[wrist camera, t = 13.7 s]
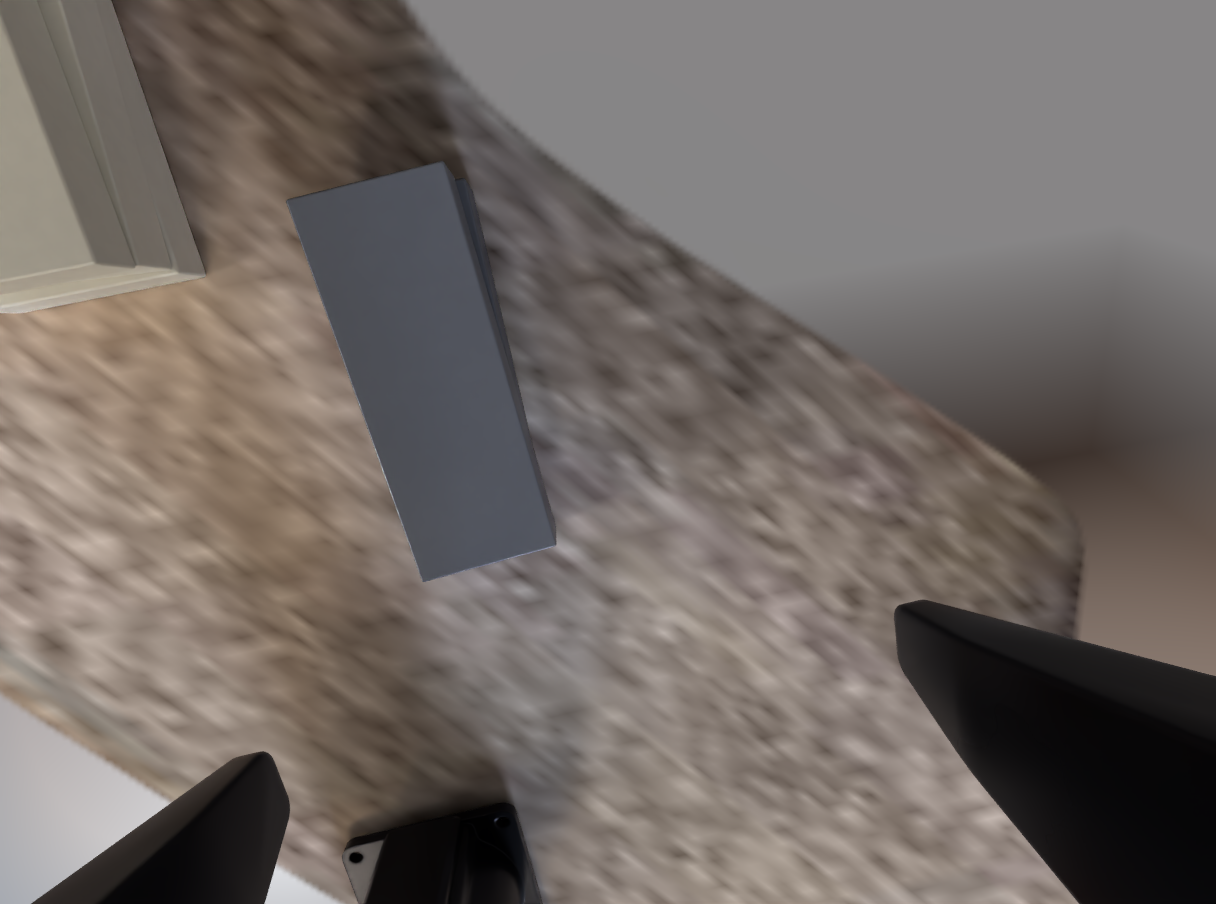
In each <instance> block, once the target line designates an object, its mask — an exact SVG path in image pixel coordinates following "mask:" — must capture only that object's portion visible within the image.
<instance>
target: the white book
mask: <svg viewBox="0 0 1216 904" xmlns="http://www.w3.org/2000/svg"><path fill="white" fill-rule="evenodd" d="M134 268H135V263H134V260H133V258H132V255H131V252H130V250H129V247H128V244H127V242H126V239H125V236H124V234H123V231H122V228H121V226H120V223H119V220H118V218H117V215H116V212H115V209H114V207H113V204H112V201H111V199H110V196H109V193H108V191H107V188H106V185H105V183H104V180H103V177H102V175H101V172H100V169H99V166H98V164H97V161H96V158H95V156H94V153H93V150H92V148H91V145H90V142H89V140H88V137H87V134H86V132H85V129H84V126H83V123H82V121H81V118H80V115H79V113H78V110H77V107H76V105H75V102H74V99H73V97H72V94H71V91H70V89H69V86H68V83H67V81H66V78H65V75H64V72H63V70H62V67H61V64H60V62H59V59H58V56H57V54H56V51H55V48H54V46H53V43H52V40H51V38H50V35H49V32H48V29H47V27H46V24H45V21H44V19H43V16H42V13H41V11H40V8H39V5H38V3H37V0H0V295H4V294H9V293H14V292H19V291H24V290H29V289H35V288H40V287H45V286H50V285H55V284H60V283H65V282H70V281H76V280H81V279H86V278H91V277H96V276H101V275H106V274H111V273H117V272H122V271H127V270H132V269H134Z"/></svg>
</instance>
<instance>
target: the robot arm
mask: <svg viewBox="0 0 1216 904" xmlns="http://www.w3.org/2000/svg"><path fill="white" fill-rule="evenodd" d="M894 621H895V632H896V643H897V654H898V660H899V663H900V666H901V668H902V670H903V672H904V674H905V676H906V677H907V679H908V680H909V682H910V683H911V684H912V686H913V687H914V689H915V690H916V692H917V693H918V695H919V696H920V698H921V699H922V701H923V702H924V704H925V705H926V707H927V708H928V710H929V711H930V713H931V714H932V716H933V717H934V719H935V720H936V722H937V723H938V725H939V726H940V728H941V729H942V731H943V732H944V734H945V735H946V737H947V738H948V739H949V741H950V742H951V744H952V745H953V747H954V748H955V750H956V751H957V753H958V754H959V756H960V757H961V758H962V760H963V761H964V763H965V764H966V765H967V767H968V768H969V770H970V771H971V772H972V773H973V775H974V776H975V777H976V778H977V780H978V781H979V782H980V784H981V785H982V786H983V787H984V788H985V790H986V791H987V792H988V793H989V795H990V796H991V797H992V798H993V799H994V801H995V802H996V803H997V804H998V805H999V807H1000V808H1001V809H1002V810H1003V812H1004V813H1005V814H1006V815H1007V816H1008V818H1009V819H1010V820H1011V821H1012V823H1013V824H1014V825H1015V826H1016V827H1017V829H1018V830H1019V831H1020V832H1021V833H1022V835H1023V836H1024V837H1025V838H1026V840H1027V841H1028V842H1029V843H1030V844H1031V846H1032V847H1033V848H1034V849H1035V850H1036V852H1037V853H1038V854H1039V855H1040V857H1041V858H1042V859H1043V860H1044V861H1045V863H1046V864H1047V865H1048V866H1049V868H1050V869H1051V870H1052V871H1053V872H1054V874H1055V875H1056V876H1057V877H1058V878H1059V880H1060V881H1061V882H1062V883H1063V885H1064V886H1065V887H1066V888H1067V889H1068V891H1069V892H1070V893H1071V894H1072V895H1073V897H1074V898H1075V899H1076V900H1077V902H1078V903H1079V904H1216V676H1212V675H1209V674H1205V673H1201V672H1197V671H1193V670H1189V669H1186V668H1182V667H1178V666H1174V665H1170V664H1167V663H1162V662H1159V661H1155V660H1152V659H1148V658H1144V657H1140V656H1136V655H1133V654H1129V653H1125V652H1121V651H1117V650H1114V649H1110V648H1106V647H1102V646H1098V645H1095V644H1091V643H1087V642H1083V641H1080V640H1076V639H1072V638H1068V637H1064V636H1061V635H1057V634H1053V633H1049V632H1046V631H1042V630H1038V629H1034V628H1030V627H1027V626H1023V625H1019V624H1015V623H1011V622H1008V621H1004V620H1000V619H996V618H993V617H989V616H985V615H981V614H977V613H974V612H970V611H966V610H962V609H958V608H955V607H951V606H947V605H943V604H940V603H936V602H932V601H928V600H918V601H914V602H910V603H905V604H901V605H899V606H898V607H897V608H896V609H895V613H894ZM289 813H290V804H289V798H288V795H287V793H286V790H285V787H284V785H283V782H282V780H281V777H280V775H279V772H278V770H277V767H276V765H275V762H274V760H273V758H272V756H271V755H270V754H269V753H267V752H264V751H263V752H257V753H252V754H248V755H244V756H239V757H236V758H234V759H232V760H230V761H229V762H228V763H226V764H225V765H223V766H222V767H221V768H219V769H218V770H216V771H215V772H214V773H212V774H211V775H210V776H208V777H207V778H205V779H204V780H203V781H201V782H200V783H198V784H197V785H196V786H194V787H193V788H191V789H190V790H189V791H187V792H186V793H184V794H183V795H182V796H180V797H179V798H178V799H176V800H175V801H173V802H172V803H171V804H169V805H168V806H166V807H165V808H164V809H162V810H161V811H159V812H158V813H157V814H155V815H154V816H152V817H151V818H150V819H148V820H147V821H146V822H144V823H143V824H141V825H140V826H139V827H137V828H136V829H134V830H133V831H132V832H130V833H129V834H127V835H126V836H125V837H123V838H122V839H120V840H119V841H118V842H116V843H115V844H114V845H112V846H111V847H109V848H108V849H107V850H105V851H104V852H102V853H101V854H100V855H98V856H97V857H95V858H94V859H93V860H91V861H90V862H89V863H87V864H86V865H84V866H83V867H82V868H80V869H79V870H77V871H76V872H75V873H73V874H72V875H70V876H69V877H68V878H66V879H65V880H63V881H62V882H61V883H59V884H58V885H56V886H55V887H54V888H52V889H51V890H50V891H48V892H47V893H46V894H44V895H43V896H41V897H40V898H38V899H37V900H36V901H34V902H33V903H32V904H264V903H265V900H266V896H267V893H268V889H269V886H270V882H271V879H272V875H273V872H274V869H275V865H276V862H277V858H278V855H279V851H280V848H281V844H282V841H283V837H284V834H285V830H286V827H287V823H288V819H289ZM500 817H506V818H507V819H499V818H500ZM355 852H359V853H361V854H357V853H355ZM342 860H343V863H344V866H345V869H346V871H347V874H348V876H349V879H350V882H351V884H352V887H353V890H354V892H355V895H356V898H357V900H358V903H359V904H543V903H542V899H541V896H540V892H539V889H538V885H537V882H536V878H535V875H534V871H533V868H532V864H531V861H530V857H529V854H528V850H527V847H526V843H525V840H524V836H523V833H522V829H521V826H520V822H519V818H518V815H517V811H516V809H515V808H514V806H512V805H511V804H508V803H499V804H495V805H490V806H486V807H482V808H478V809H474V810H469V811H465V812H461V813H457V814H453V815H448V816H444V817H440V818H436V819H432V820H427V821H423V822H419V823H415V824H411V825H406V826H402V827H398V828H394V829H390V830H385V831H381V832H377V833H373V834H369V835H364V836H360V837H356V838H354V839H351V840H350V841H349V842H348V843H347V845H346V848H345V850H344V853H343V855H342Z"/></svg>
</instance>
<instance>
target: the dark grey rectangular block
mask: <svg viewBox="0 0 1216 904" xmlns="http://www.w3.org/2000/svg"><path fill="white" fill-rule="evenodd" d="M286 203H287V205H288V208H289V211H290V214H291V217H292V219H293V222H294V225H295V228H296V230H297V233H298V236H299V239H300V242H301V244H302V247H303V250H304V253H305V256H306V258H307V261H308V264H309V267H310V270H311V272H312V275H313V278H314V281H315V283H316V286H317V289H318V292H319V295H320V297H321V300H322V303H323V306H324V309H325V311H326V314H327V317H328V320H329V323H330V325H331V328H332V331H333V334H334V337H335V339H336V342H337V345H338V348H339V350H340V353H341V356H342V359H343V362H344V364H345V367H346V370H347V373H348V376H349V378H350V381H351V384H352V387H353V390H354V392H355V395H356V398H357V401H358V403H359V406H360V409H361V412H362V415H363V417H364V420H365V423H366V426H367V429H368V431H369V434H370V437H371V440H372V443H373V445H374V448H375V451H376V454H377V457H378V459H379V462H380V465H381V468H382V470H383V473H384V476H385V479H386V482H387V484H388V487H389V490H390V493H391V496H392V498H393V501H394V504H395V507H396V510H397V512H398V515H399V518H400V521H401V523H402V526H403V529H404V532H405V535H406V537H407V540H408V543H409V546H410V549H411V551H412V554H413V557H414V560H415V563H416V565H417V568H418V571H419V574H420V576H421V579H422V581H423V582H426V581H429V580H433V579H437V578H440V577H444V576H448V575H451V574H455V573H459V572H462V571H466V570H470V569H473V568H477V567H481V566H484V565H488V564H492V563H495V562H499V561H503V560H506V559H510V558H514V557H517V556H521V555H525V554H528V553H532V552H536V551H539V550H543V549H547V548H550V547H554V546H556V524H555V521H554V518H553V514H552V511H551V507H550V504H549V500H548V497H547V494H546V490H545V487H544V483H543V480H542V476H541V473H540V470H539V466H538V463H537V459H536V456H535V452H534V449H533V446H532V441H531V437H530V433H529V429H528V424H527V420H526V416H525V412H524V407H523V403H522V399H521V394H520V390H519V386H518V382H517V377H516V373H515V369H514V365H513V360H512V356H511V352H510V348H509V343H508V339H507V335H506V331H505V326H504V322H503V318H502V313H501V309H500V305H499V301H498V296H497V292H496V288H495V284H494V279H493V275H492V271H491V267H490V262H489V258H488V254H487V249H486V245H485V241H484V237H483V232H482V228H481V224H480V220H479V215H478V211H477V207H476V203H475V198H474V194H473V191H472V189H471V188H470V186H469V185H468V183H467V181H466V180H465V178H460V179H455V178H454V176H453V175H452V173H451V172H450V170H449V169H448V167H447V166H446V165H445V163H444V162H443V161H439V162H435V163H431V164H427V165H423V166H419V167H415V168H411V169H407V170H403V171H399V172H395V173H391V174H387V175H383V176H379V177H375V178H371V179H367V180H363V181H359V182H355V183H351V184H347V185H343V186H339V187H335V188H331V189H327V190H323V191H319V192H315V193H311V194H307V195H303V196H299V197H295V198H291V199H288V200H286Z"/></svg>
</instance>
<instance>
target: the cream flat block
mask: <svg viewBox="0 0 1216 904" xmlns="http://www.w3.org/2000/svg"><path fill="white" fill-rule="evenodd" d="M37 3H38V5H39V8H40V11H41V13H42V16H43V19H44V21H45V24H46V27H47V29H48V32H49V35H50V38H51V40H52V43H53V46H54V48H55V51H56V54H57V56H58V59H59V62H60V64H61V67H62V70H63V72H64V75H65V78H66V81H67V83H68V86H69V89H70V91H71V94H72V97H73V99H74V102H75V105H76V107H77V110H78V113H79V115H80V118H81V121H82V123H83V126H84V129H85V132H86V134H87V137H88V140H89V142H90V145H91V148H92V150H93V153H94V156H95V158H96V161H97V164H98V166H99V169H100V172H101V175H102V177H103V180H104V183H105V185H106V188H107V191H108V193H109V196H110V199H111V201H112V204H113V207H114V209H115V212H116V215H117V218H118V220H119V223H120V226H121V228H122V231H123V234H124V236H125V239H126V242H127V244H128V247H129V250H130V252H131V255H132V258H133V260H134V263H135V268H134V269H132V270H127V271H122V272H117V273H111V274H106V275H101V276H96V277H91V278H86V279H81V280H76V281H70V282H65V283H60V284H55V285H50V286H45V287H40V288H35V289H29V290H24V291H19V292H14V293H9V294H4V295H0V313H25V312H30V311H35V310H40V309H46V308H51V307H56V306H61V305H66V304H71V303H76V302H81V301H86V300H92V299H97V298H102V297H107V296H112V295H117V294H122V293H127V292H132V291H138V290H143V289H148V288H153V287H158V286H163V285H168V284H173V283H178V282H184V281H189V280H194V279H199V278H204V277H205V276H206V273H205V270H204V267H203V264H202V261H201V258H200V256H199V253H198V250H197V247H196V244H195V241H194V238H193V235H192V232H191V230H190V227H189V224H188V221H187V218H186V215H185V212H184V209H183V206H182V203H181V201H180V198H179V195H178V192H177V189H176V186H175V183H174V180H173V177H172V175H171V172H170V169H169V166H168V163H167V160H166V157H165V154H164V151H163V148H162V146H161V143H160V140H159V137H158V134H157V131H156V128H155V125H154V122H153V119H152V117H151V114H150V111H149V108H148V105H147V102H146V99H145V96H144V93H143V91H142V88H141V85H140V82H139V79H138V76H137V73H136V70H135V67H134V64H133V62H132V59H131V56H130V53H129V50H128V47H127V44H126V41H125V38H124V36H123V33H122V30H121V27H120V24H119V21H118V18H117V15H116V12H115V9H114V7H113V4H112V1H111V0H37Z"/></svg>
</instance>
